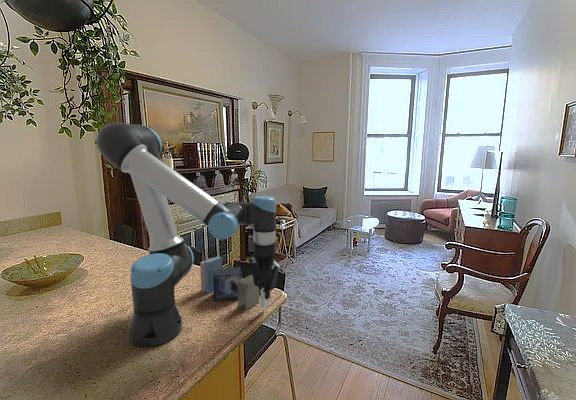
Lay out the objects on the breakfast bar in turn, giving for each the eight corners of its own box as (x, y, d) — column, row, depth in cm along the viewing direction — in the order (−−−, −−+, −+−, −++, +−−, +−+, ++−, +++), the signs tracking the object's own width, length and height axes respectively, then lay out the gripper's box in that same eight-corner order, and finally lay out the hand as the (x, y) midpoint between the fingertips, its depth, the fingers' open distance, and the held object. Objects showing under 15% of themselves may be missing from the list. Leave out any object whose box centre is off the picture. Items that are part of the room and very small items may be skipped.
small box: (213, 302, 110) (213, 275, 108) (213, 293, 116) (212, 268, 114) (242, 298, 113) (242, 273, 111) (240, 290, 119) (240, 266, 117)
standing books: (208, 294, 116) (207, 262, 114) (201, 290, 118) (200, 260, 116) (222, 287, 121) (221, 257, 119) (214, 284, 124) (213, 255, 122)
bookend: (246, 310, 104) (245, 284, 103) (238, 307, 107) (237, 281, 105) (259, 302, 110) (259, 277, 108) (251, 299, 112) (251, 274, 111)
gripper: (286, 242, 99) (285, 307, 103) (257, 235, 106) (257, 296, 110) (272, 248, 93) (272, 317, 97) (242, 240, 100) (243, 304, 104)
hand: (264, 306), depth 104 cm, fingers closed
